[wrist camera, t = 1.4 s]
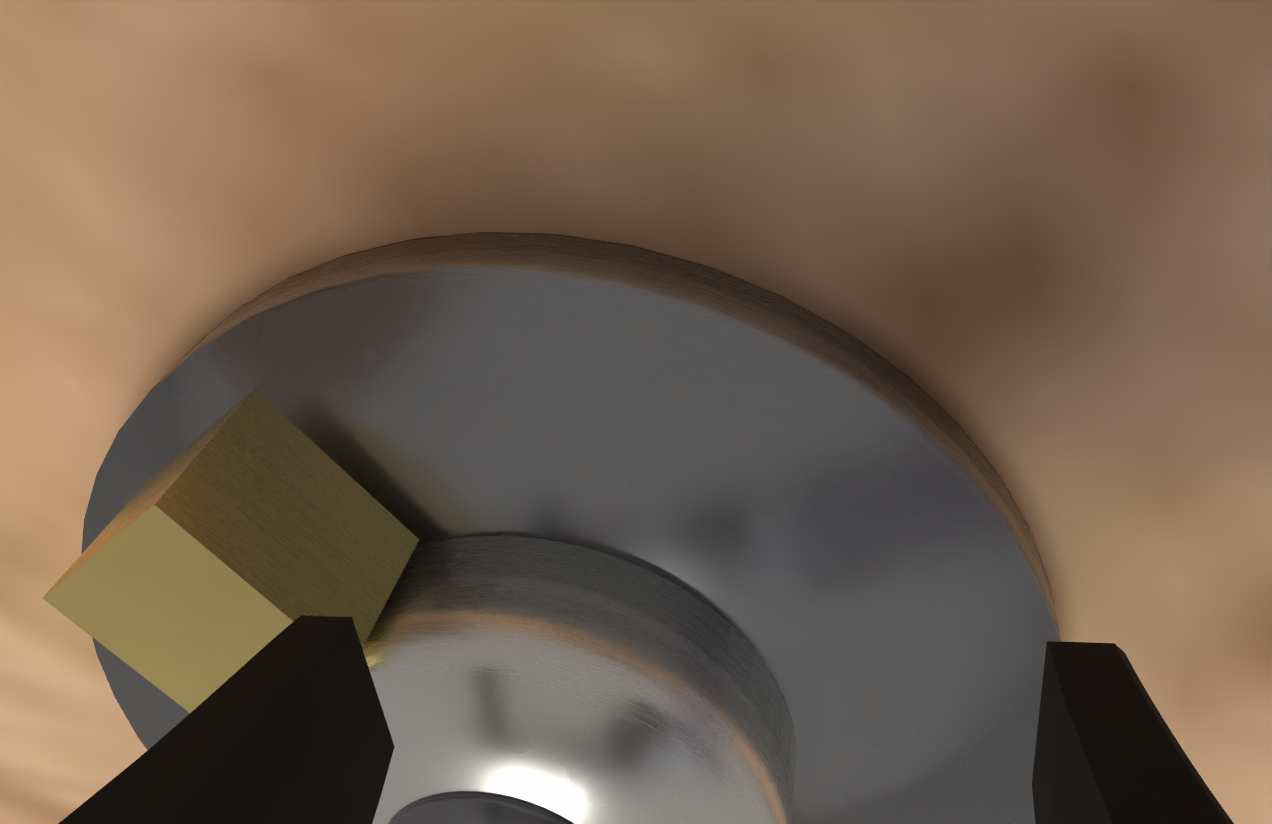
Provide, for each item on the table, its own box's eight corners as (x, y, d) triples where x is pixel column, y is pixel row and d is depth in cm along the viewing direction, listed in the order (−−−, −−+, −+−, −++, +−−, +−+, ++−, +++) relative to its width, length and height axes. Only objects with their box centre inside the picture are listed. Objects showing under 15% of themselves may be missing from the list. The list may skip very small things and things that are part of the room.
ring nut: (279, 291, 16) (165, 410, 14) (1054, 859, 20) (1081, 1039, 17) (62, 606, 21) (-54, 740, 18) (723, 1020, 25) (705, 1181, 22)
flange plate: (430, -24, 15) (385, 8, 14) (1288, 695, 19) (1319, 775, 18) (1, 636, 25) (-52, 694, 23) (640, 1027, 29) (628, 1097, 27)
